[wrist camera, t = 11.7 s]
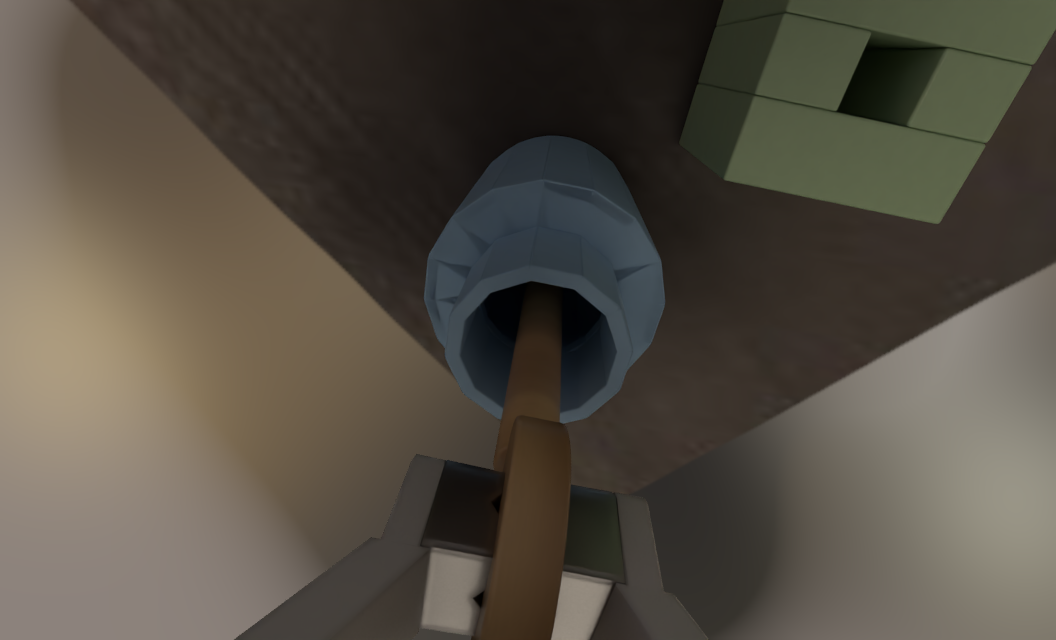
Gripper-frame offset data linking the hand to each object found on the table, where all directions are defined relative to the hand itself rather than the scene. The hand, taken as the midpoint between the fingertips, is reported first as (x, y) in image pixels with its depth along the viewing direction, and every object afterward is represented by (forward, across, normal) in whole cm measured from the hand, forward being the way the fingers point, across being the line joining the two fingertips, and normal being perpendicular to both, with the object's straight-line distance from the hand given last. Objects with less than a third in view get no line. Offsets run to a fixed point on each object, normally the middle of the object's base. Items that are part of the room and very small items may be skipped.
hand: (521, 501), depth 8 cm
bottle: (+17, 0, 0) cm, 17 cm away
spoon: (+14, 0, 0) cm, 14 cm away
